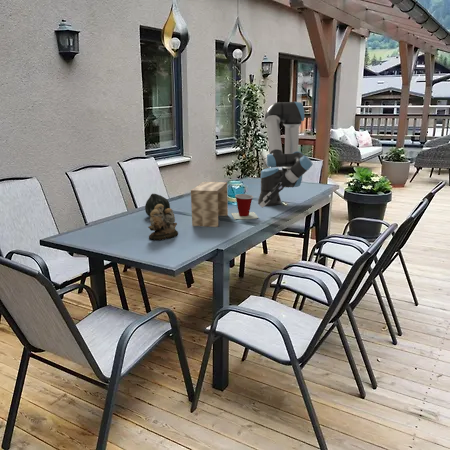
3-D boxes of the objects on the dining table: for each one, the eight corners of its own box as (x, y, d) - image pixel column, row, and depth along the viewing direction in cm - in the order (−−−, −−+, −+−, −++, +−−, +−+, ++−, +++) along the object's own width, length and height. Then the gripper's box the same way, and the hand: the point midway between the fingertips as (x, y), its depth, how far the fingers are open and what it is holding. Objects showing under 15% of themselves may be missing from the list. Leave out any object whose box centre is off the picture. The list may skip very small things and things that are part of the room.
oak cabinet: (227, 215, 267) (227, 182, 262) (217, 226, 243) (216, 190, 238) (204, 214, 271) (203, 181, 265) (192, 225, 246) (190, 190, 241)
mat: (253, 212, 272) (253, 211, 272) (258, 218, 259) (258, 217, 259) (231, 213, 270) (231, 213, 270) (234, 219, 257) (234, 218, 257)
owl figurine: (159, 243, 218) (156, 209, 213) (142, 239, 225) (139, 206, 220) (183, 233, 232) (181, 201, 227) (167, 230, 239) (164, 199, 234)
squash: (177, 205, 271) (161, 186, 270) (168, 212, 257) (150, 192, 256) (162, 219, 277) (146, 201, 276) (152, 226, 263) (135, 207, 262)
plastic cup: (250, 218, 258) (250, 197, 255) (232, 216, 261) (232, 196, 258) (255, 213, 268) (255, 194, 264) (238, 212, 271) (238, 193, 268)
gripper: (286, 170, 264) (261, 193, 272) (282, 177, 241) (254, 203, 249) (295, 179, 265) (269, 202, 272) (291, 187, 241) (264, 213, 249)
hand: (262, 203), depth 260 cm, fingers open, 13 cm apart
